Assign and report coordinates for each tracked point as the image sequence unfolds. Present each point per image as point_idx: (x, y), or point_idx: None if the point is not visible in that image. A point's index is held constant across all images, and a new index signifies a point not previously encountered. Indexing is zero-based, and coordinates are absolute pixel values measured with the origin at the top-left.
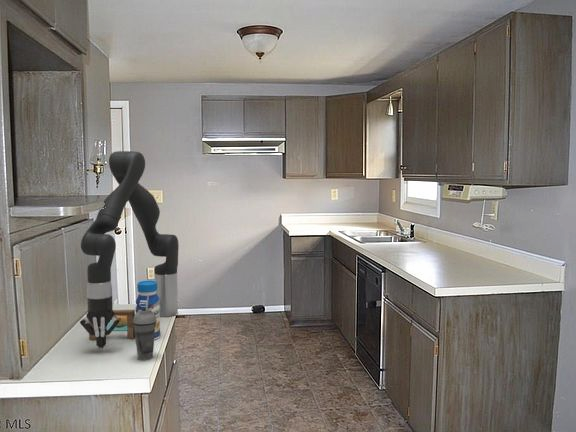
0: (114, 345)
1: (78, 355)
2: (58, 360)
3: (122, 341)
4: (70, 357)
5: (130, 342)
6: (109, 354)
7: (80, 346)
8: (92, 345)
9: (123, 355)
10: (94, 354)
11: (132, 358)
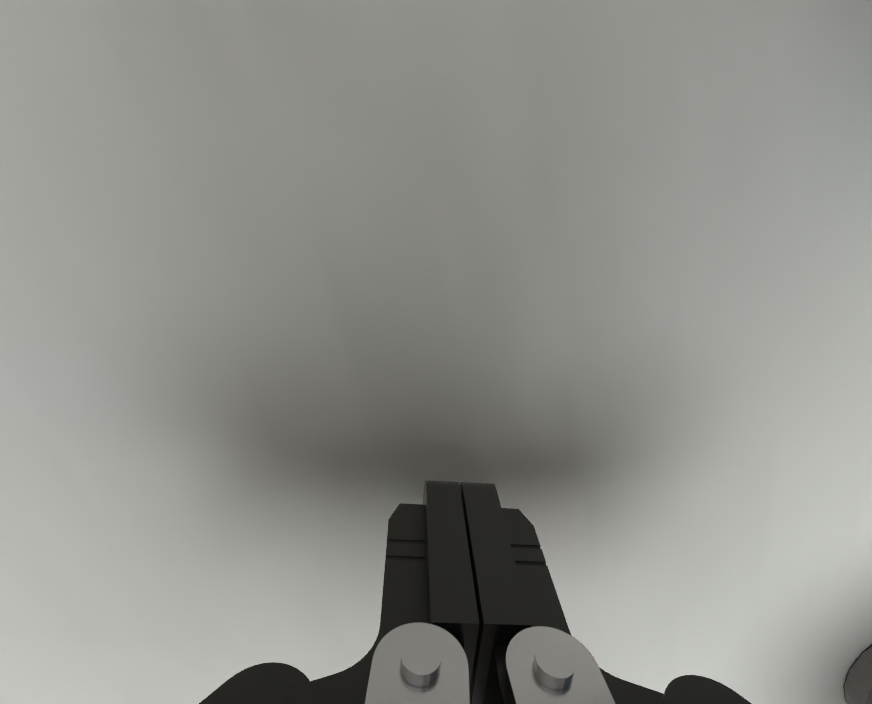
0: (594, 260)
1: (195, 556)
2: (32, 659)
3: (719, 68)
4: (126, 600)
5: (843, 152)
6: (557, 566)
7: (54, 222)
8: (241, 203)
9: (710, 606)
10: (382, 549)
11: (792, 678)
